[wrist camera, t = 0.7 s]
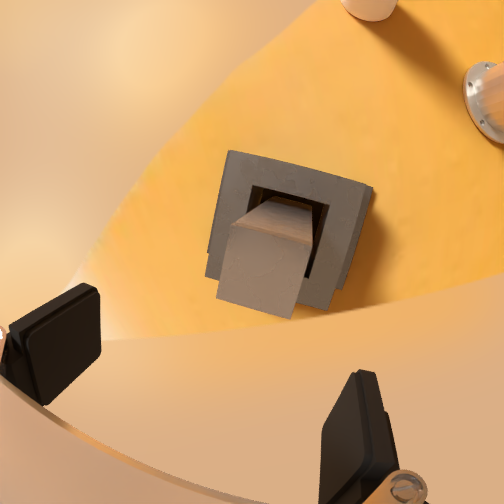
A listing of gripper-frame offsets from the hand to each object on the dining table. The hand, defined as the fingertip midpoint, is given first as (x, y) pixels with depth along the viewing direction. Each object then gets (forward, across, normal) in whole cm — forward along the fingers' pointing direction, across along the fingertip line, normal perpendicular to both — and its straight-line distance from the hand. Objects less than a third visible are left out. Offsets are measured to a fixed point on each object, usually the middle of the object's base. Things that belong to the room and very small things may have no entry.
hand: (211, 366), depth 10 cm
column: (+32, 0, 0) cm, 32 cm away
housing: (+32, 0, 0) cm, 32 cm away
